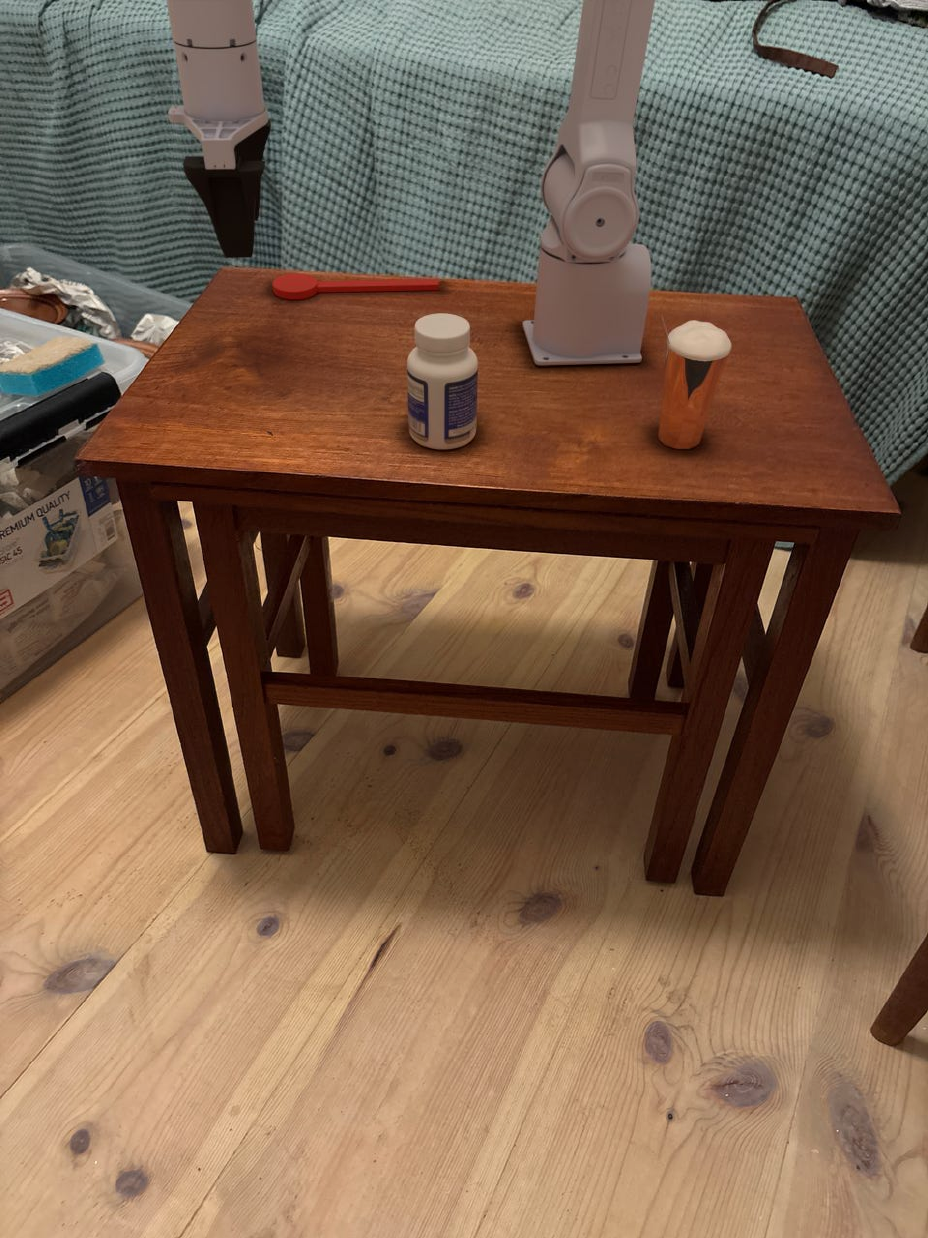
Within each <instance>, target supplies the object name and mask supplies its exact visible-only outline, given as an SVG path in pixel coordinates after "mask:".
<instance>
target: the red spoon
mask: <svg viewBox="0 0 928 1238" xmlns="http://www.w3.org/2000/svg"><path fill="white" fill-rule="evenodd" d="M439 290H440V283H439V279H438V278H409V279H408V278H406V279H405V278H404V279H403V278H402V279H362V280H361V279H358V280H357V279H354V280H353V279H352V280H351V279H350V280H349V279H347V280H318V278H317V277H315V276H313V275H310V274H307V273H300V272H299V273H298V272H293V273H286V274H282V275H280V276H277V277H276V278H274V279H273V281H272V292H273V293H274V295H275V296H277V297H278V298H281V299H285V300H304V299H308V298H311V297H313V296H315V295H317V294H319V293H360V292H361V293H365V292H368V293H369V292H414V291H416V292H417V291H418V292H419V291H439Z"/></svg>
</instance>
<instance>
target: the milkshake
mask: <svg viewBox="0 0 928 1238" xmlns="http://www.w3.org/2000/svg"><path fill="white" fill-rule="evenodd" d="M661 319H662V325H663V328H664V332H665V335H666V353H665V362H664V363H665V364H664V381H663V391H662V393H663V394H662V401H661V410H660V419H659V426H658V434H657V435H658V436H657V438H658V440H659V441H660V442H661V443H662V444H663V445H664V446H666V447H669V448H672V449H675V450H690V449H691V450H692V448H694V447H696V446H698V445H700V441H701V439H702V435H703V432H704V429H705V426H706V423H707V420H708V416H709V414H710V411H711V408H712V405H713V401H714V399H715V395H716V391H717V389H718V386H719V384H720V382H721V381H720V380H721V378H722V375H723V373H724V369H725V366H726V364H727V361H728V358H729V356H730V352H731V349H732V342H731V340H730V338H729V336H728V334H727V333H726V331H725V330H723V329H722V328H719V327H717V326H716V325H714V324H713V323H711V322H708V321H699V320H695V319H694V320H693V319H692V320H689V321H687V322H685V323H683V324H681V325H679V326H677V327H674V329H672V330H671V331H670V332H669V333H668V331H667V330H668V329H667V326H666V323H665V320H664V317H663V315H661Z"/></svg>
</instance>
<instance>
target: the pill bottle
mask: <svg viewBox="0 0 928 1238" xmlns="http://www.w3.org/2000/svg"><path fill="white" fill-rule="evenodd" d="M413 336H414V338H413V339H414V344H415V347H414V348H413V349H412V350H411V351H410V352H409V354H408V356H407V359H406V390H407V392H406V396H407V397H406V398H407V423H408V424H407V425H408V433H409V436H410V437H411V439H412V440H413V441H414V442H416V443H417V444H419V445H420V446H423V447H426V448H429V449H433V450H452V449H453V450H454V449H458V448H461V447H464V446H465V445H467V444H468V443H470V442H471V441H472V440H473V439H474V437H475V436H476V432H477V421H478V418H477V415H478V386H479V383H478V381H479V361H478V357H477V354H476V353H475V352H474V351H473V349H472V348H470V345H471V326H470V323H469V321H468V320H467V319H465V318H464V317H462V316H459V315H455V314H453V313H446V312H444V313H442V312H439V313H432V314H427V315H424V316H421V317H420V318H419V319H417V320H416V321H415V324H414V335H413Z"/></svg>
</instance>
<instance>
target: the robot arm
mask: <svg viewBox="0 0 928 1238" xmlns="http://www.w3.org/2000/svg"><path fill="white" fill-rule="evenodd" d="M655 3H656V0H582V6H581V15H580V22H579V28H578V36H577V43H576V51H575V58H574V66H573V73H572V81H571V88H570V95H569V96H570V97H569V103H568V109H567V112H566V115H565V116H564V117H563V120H562V122H561V124H560V126H559V129H558V136H557V142H556V147H555V149H554V152H553V154H552V156H551V157H550V159H549V161H548V162H547V163H546V165H545V168H544V170H543V172H542V175H541V180H540V195H541V200H542V203H543V204H544V206H545V208H546V210H547V211H548V212H549V213H550V214H551V215H550V218H549V220H548V223H547V224H546V227H545V228H544V229H543V231H542V233H540V234H541V235H540V239H539V240H540V242H539V253H538V263H537V275H536V276H537V277H536V288H535V302H534V303H535V304H534V313H533V314H534V315H533V320H532V319H530V320H529V319H527V320H523V321H522V326H521V327H522V330H523V332H524V335H525V339H526V342H527V345H528V347H529V350H530V354H531V356H532V359H533V362H534V364H535V365H537V366H568V365H569V366H572V365H573V366H574V365H604V364H605V365H607V364H608V365H609V364H638V363H641V362H642V358H643V357H642V354H641V349H642V343H643V337H644V331H645V326H646V320H647V313H648V307H649V302H650V297H651V288H652V261H651V256H650V255H651V254H650V253H649V249H648V248H647V246H646V245H644V244H642V243H641V244H640V243H631V241H632V239H633V237H634V236H635V234H636V232H637V228H638V225H639V220H640V207H639V203H638V201H637V200H638V199H637V196H636V192H635V177H636V172H637V167H638V166H637V165H638V164H637V163H638V162H637V153H636V144H635V143H636V142H635V135H634V121H635V115H636V110H637V103H638V98H639V92H640V87H641V81H642V76H643V70H644V64H645V58H646V54H647V47H648V42H649V36H650V31H651V24H652V19H653V14H654V8H655ZM166 5H167V10H168V11H167V13H168V17H169V19H168V20H169V25H170V31H171V36H172V40H173V48H174V53H175V58H176V66H177V71H178V72H177V73H178V78H179V83H180V85H179V86H180V90H181V91H180V92H181V97H182V102H183V105H173V106H170V108H169V110H168V112H167V114H168V118H169V119H168V120H169V122H170V123H171V124H182V125H185V127H187V128H188V129H189V131H190V132H191V133H192V134H193V135H194V136H195V138H196V139H197V140H198V142H200V143H201V149H202V155H196V156H195V155H194V156H193V155H187V156H186V155H185V157H184V159H183V162H182V167H183V173H184V175H185V178H186V179H187V181H188V182H189V183H190V185H191V186H192V187H193V188H194V190H195V191H196V193H197V194H198V196H199V198H200V199H201V201H202V204H203V205H204V207H205V209H206V211H207V214H208V217H209V219H210V222H211V224H212V227H213V230H214V232H215V235H216V238H217V241H218V244H219V247H220V248H221V252H222V254H223V255H224V258H226V259H243V258H244V259H247V258H253V254H254V248H255V247H254V246H255V234H256V222H258V221H259V215H260V210H261V209H260V208H261V193H262V191H261V190H262V177H263V173H264V170H265V167H266V161H265V160H264V159H263V158H264V153H265V148H266V145H267V141H268V138H269V136H270V133H271V130H272V121H271V119H270V118H269V113H268V112H269V111H268V108H267V106H266V105H265V102H264V100H265V99H264V92H263V91H264V90H263V83H262V82H263V81H262V74H261V64H260V56H259V47H258V38H257V30H256V21H255V13H254V12H255V11H254V3H253V0H166Z"/></svg>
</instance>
